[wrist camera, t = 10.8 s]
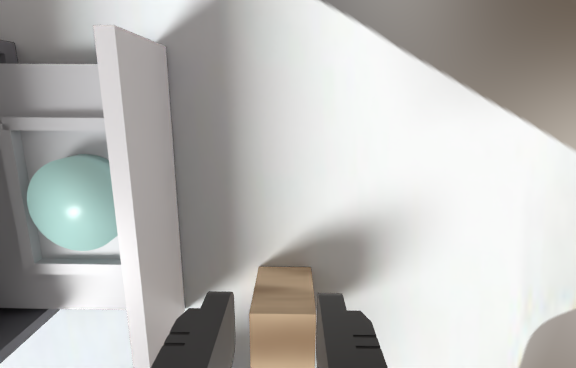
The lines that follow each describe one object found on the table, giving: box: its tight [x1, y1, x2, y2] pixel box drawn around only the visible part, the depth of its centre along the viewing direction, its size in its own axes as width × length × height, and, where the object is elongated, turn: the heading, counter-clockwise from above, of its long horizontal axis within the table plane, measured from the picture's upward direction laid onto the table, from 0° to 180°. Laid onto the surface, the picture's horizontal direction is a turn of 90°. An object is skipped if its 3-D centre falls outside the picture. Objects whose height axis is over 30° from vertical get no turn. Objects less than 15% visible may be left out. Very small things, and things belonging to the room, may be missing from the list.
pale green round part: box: [27, 154, 118, 251], centre depth 22 cm, size 6×6×2 cm
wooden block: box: [249, 267, 316, 368], centre depth 24 cm, size 4×4×6 cm
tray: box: [0, 25, 185, 368], centre depth 22 cm, size 20×16×7 cm
